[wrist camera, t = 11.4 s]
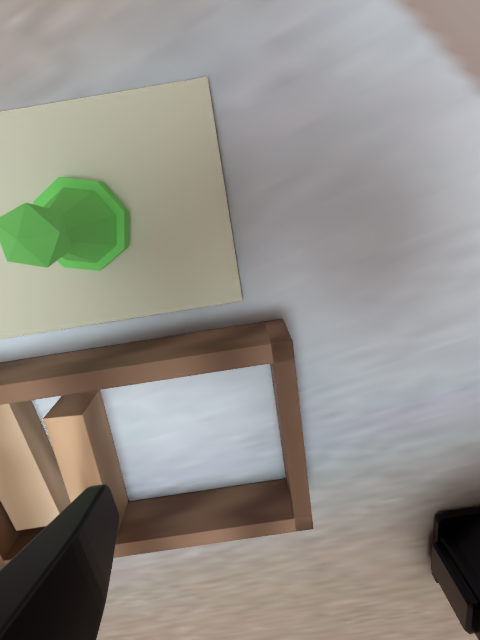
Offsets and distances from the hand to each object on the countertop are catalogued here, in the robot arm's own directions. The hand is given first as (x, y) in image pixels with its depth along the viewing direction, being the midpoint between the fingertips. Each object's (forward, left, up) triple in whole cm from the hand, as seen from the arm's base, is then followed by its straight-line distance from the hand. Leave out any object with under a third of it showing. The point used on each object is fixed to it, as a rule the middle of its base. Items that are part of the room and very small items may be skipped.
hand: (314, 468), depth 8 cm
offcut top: (+12, +8, -11) cm, 18 cm away
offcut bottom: (+15, +7, -12) cm, 21 cm away
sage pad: (+8, -6, -12) cm, 15 cm away
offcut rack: (+9, +7, -12) cm, 16 cm away
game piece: (+8, -6, -12) cm, 15 cm away
